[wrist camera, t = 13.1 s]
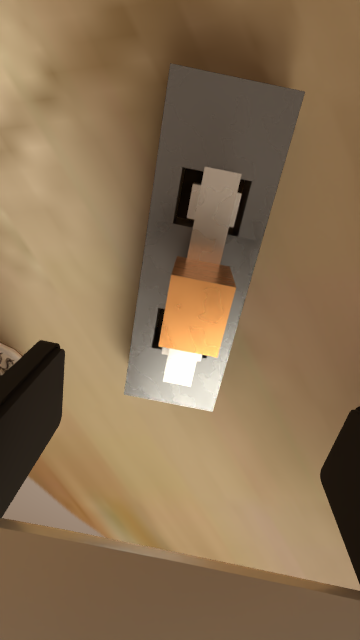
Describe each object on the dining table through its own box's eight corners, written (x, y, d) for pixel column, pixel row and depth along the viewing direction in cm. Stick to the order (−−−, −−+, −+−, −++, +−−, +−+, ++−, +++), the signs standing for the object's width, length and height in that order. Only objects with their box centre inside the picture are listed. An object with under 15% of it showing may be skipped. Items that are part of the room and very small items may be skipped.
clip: (237, 176, 24) (266, 176, 14) (199, 337, 30) (198, 428, 19) (196, 167, 24) (191, 161, 14) (166, 330, 30) (145, 418, 19)
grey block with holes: (288, 105, 22) (305, 91, 19) (211, 385, 32) (212, 411, 29) (175, 81, 22) (170, 63, 19) (132, 369, 32) (123, 394, 29)
